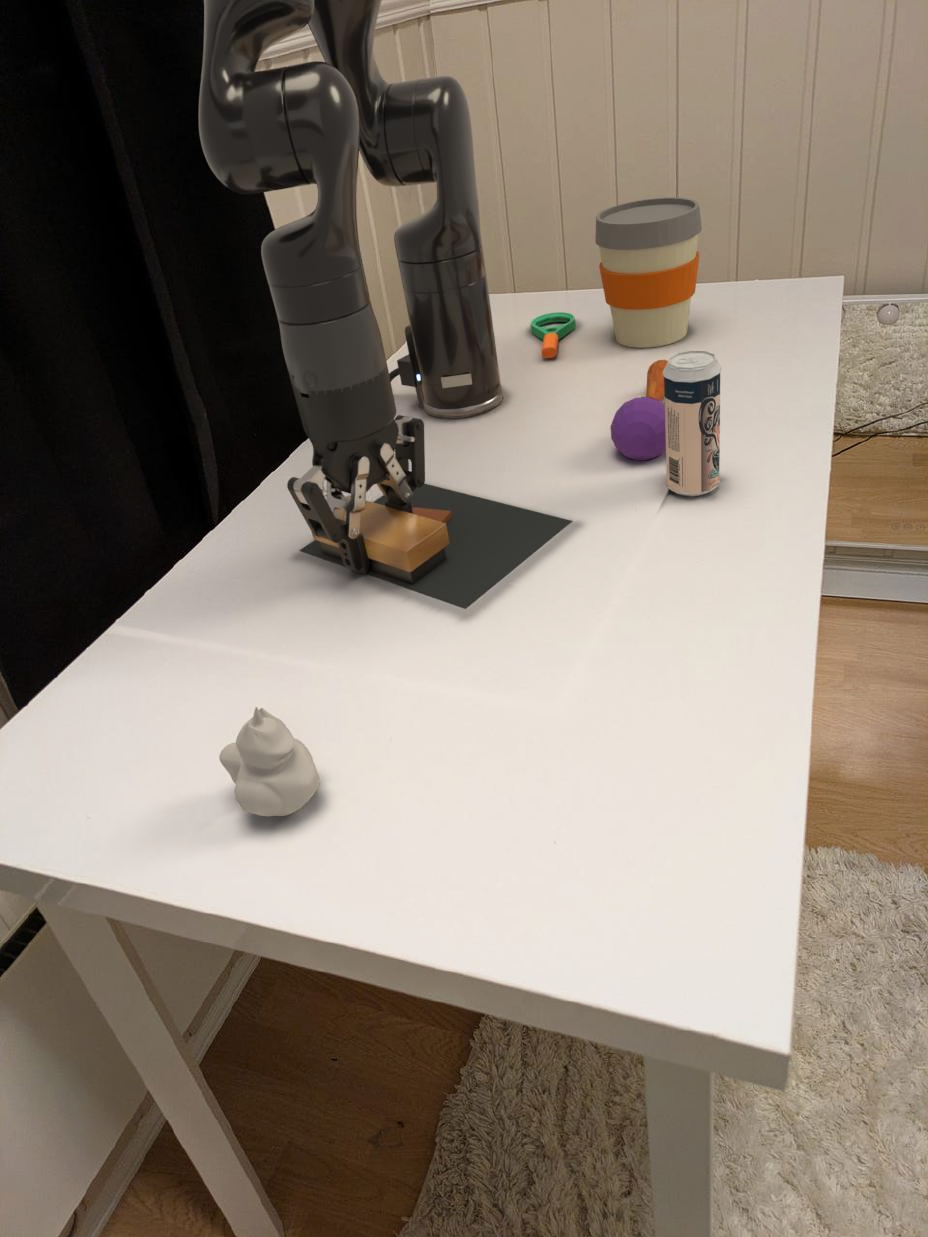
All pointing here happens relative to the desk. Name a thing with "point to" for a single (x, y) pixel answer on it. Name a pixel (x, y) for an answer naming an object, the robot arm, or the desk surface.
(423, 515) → the brown square tile
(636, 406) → the maraca
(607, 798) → the desk surface
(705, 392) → the beer can
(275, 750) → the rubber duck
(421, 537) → the brush
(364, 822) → the desk surface
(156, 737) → the desk surface
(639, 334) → the reusable coffee cup
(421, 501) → the mat
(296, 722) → the desk surface
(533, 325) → the toy tennis racket
